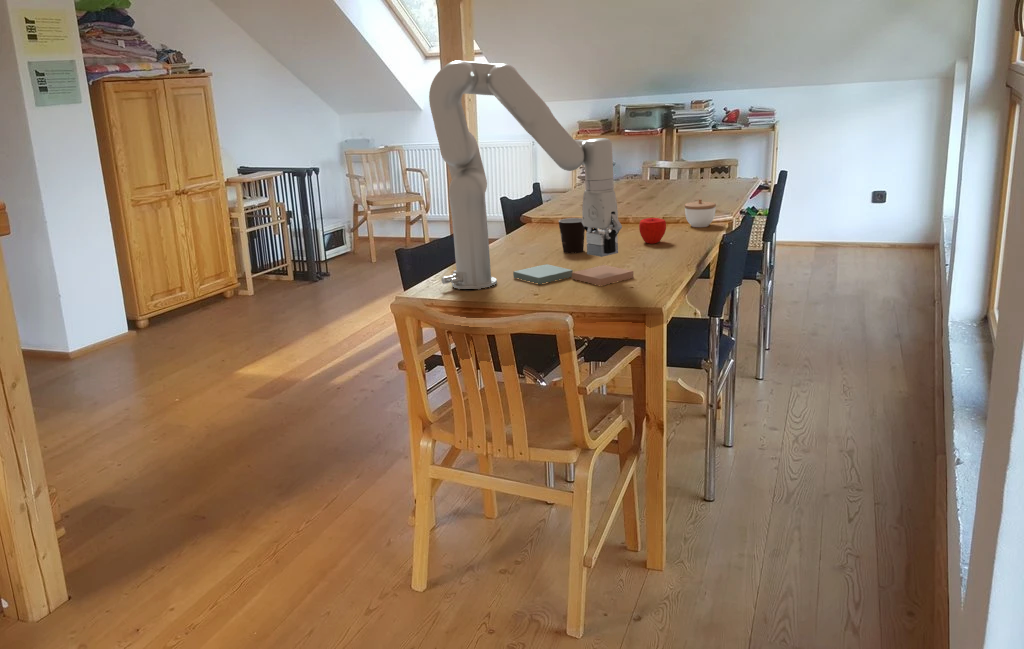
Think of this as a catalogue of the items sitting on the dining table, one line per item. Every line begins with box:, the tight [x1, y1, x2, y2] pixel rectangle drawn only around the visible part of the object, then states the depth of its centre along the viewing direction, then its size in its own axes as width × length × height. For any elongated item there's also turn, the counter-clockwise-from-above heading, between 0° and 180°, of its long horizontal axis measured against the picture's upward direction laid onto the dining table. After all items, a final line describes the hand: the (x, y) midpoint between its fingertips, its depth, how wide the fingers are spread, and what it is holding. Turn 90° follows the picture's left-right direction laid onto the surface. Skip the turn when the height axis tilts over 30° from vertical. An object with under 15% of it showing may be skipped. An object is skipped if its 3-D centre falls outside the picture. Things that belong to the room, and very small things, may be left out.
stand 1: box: [512, 263, 574, 285], centre depth 244 cm, size 12×12×2 cm
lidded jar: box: [684, 198, 717, 228], centre depth 304 cm, size 11×11×9 cm
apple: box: [638, 217, 667, 244], centre depth 281 cm, size 9×9×8 cm
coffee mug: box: [558, 217, 586, 254], centre depth 277 cm, size 12×9×10 cm
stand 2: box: [571, 264, 634, 287], centre depth 238 cm, size 12×12×2 cm
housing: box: [585, 229, 619, 258], centre depth 236 cm, size 6×6×6 cm
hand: (602, 250), depth 236 cm, fingers closed on housing, 6 cm apart
